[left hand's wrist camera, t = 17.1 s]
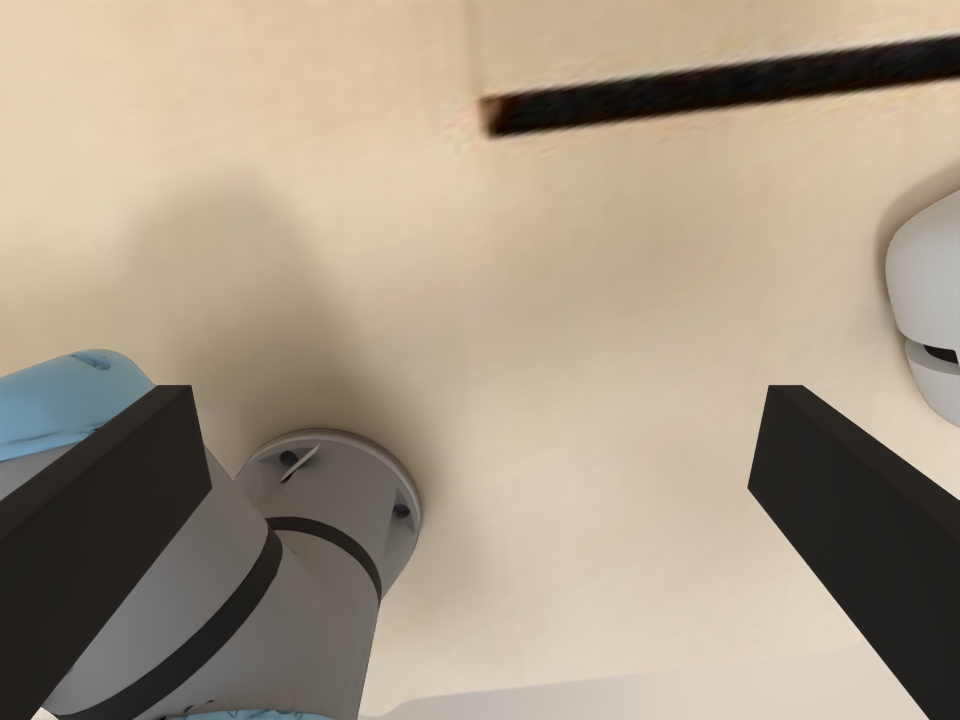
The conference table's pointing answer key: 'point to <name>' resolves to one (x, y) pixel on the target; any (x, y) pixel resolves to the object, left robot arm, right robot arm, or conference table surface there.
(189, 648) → the left robot arm
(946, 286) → the projector
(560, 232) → the conference table surface
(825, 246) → the conference table surface
